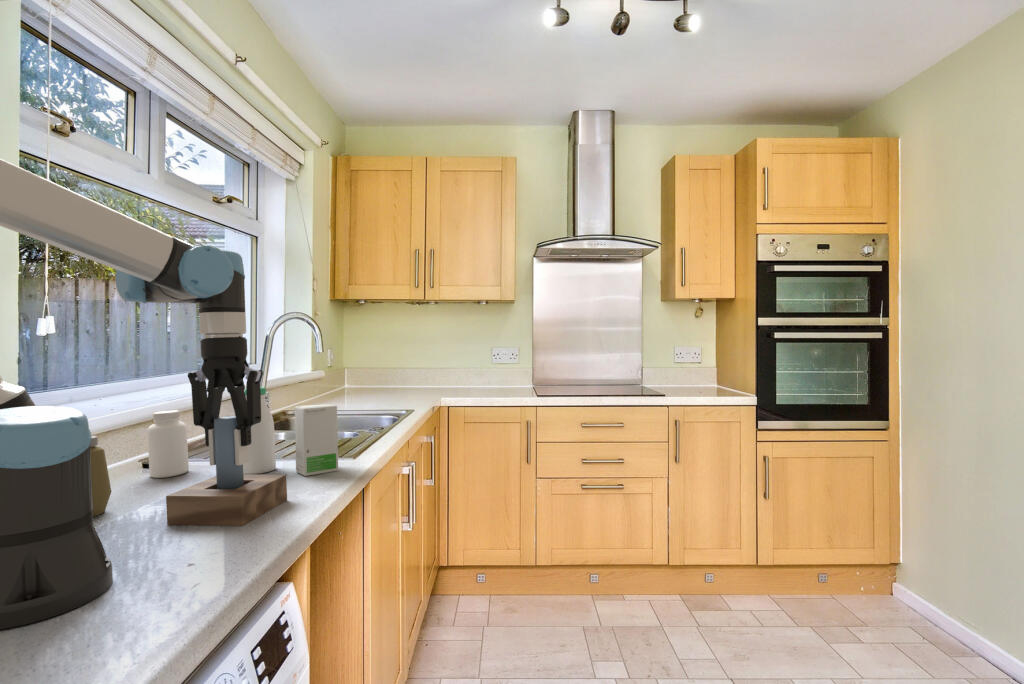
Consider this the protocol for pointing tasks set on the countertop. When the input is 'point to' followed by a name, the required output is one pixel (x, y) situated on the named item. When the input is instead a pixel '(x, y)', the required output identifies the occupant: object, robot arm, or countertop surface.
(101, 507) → the squeeze bottle
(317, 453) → the skincare box
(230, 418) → the peg
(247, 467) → the milk bottle
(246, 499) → the socket block
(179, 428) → the pill bottle
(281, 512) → the countertop surface
